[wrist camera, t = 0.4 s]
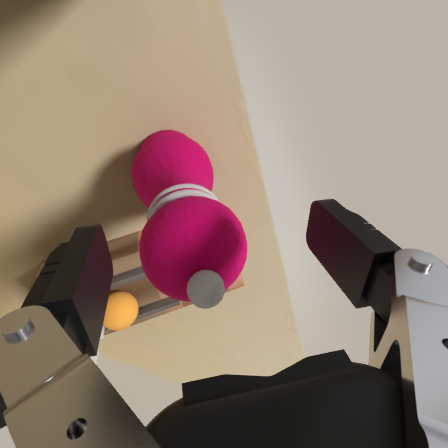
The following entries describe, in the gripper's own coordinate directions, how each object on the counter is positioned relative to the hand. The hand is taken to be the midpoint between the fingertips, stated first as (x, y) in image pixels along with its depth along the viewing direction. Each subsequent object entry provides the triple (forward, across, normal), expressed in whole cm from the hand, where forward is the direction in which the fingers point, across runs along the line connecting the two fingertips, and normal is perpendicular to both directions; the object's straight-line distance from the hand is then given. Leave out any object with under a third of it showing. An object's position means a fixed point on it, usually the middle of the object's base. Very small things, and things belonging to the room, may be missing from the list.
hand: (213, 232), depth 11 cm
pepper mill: (+20, +2, +4) cm, 20 cm away
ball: (+13, +9, +17) cm, 23 cm away
